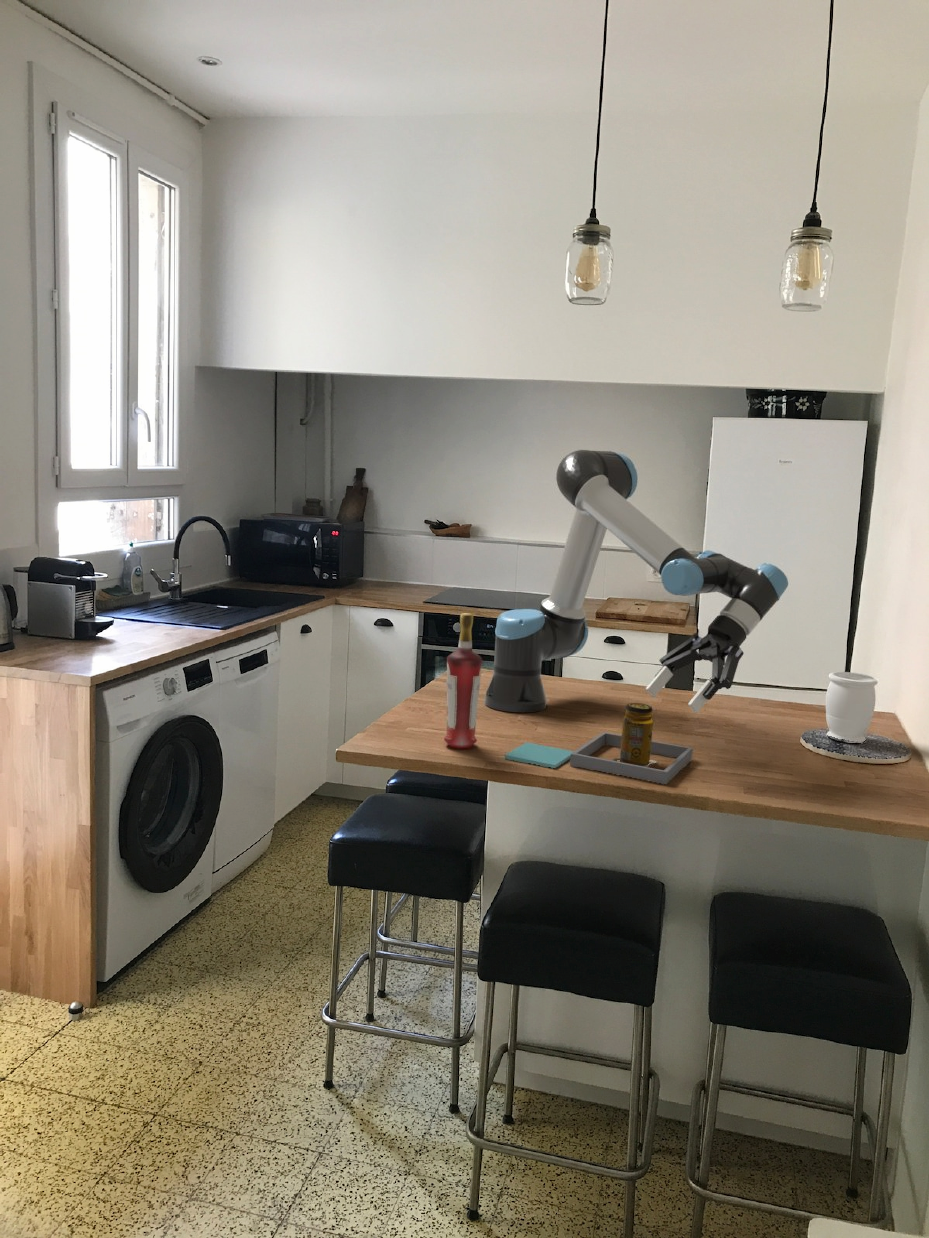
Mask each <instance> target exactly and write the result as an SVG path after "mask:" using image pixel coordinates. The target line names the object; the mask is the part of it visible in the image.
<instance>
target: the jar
mask: <svg viewBox="0 0 929 1238" xmlns="http://www.w3.org/2000/svg"><path fill="white" fill-rule="evenodd" d="M828 679H829V680H830V682H829V684H828V685H827V686H828V687H827V690H826V694H825V720H826V724H827V729H829V730H828V731H827V733H826V736H827V735H828V736H832V737H835V738H838V739H845V740H849V741H855V742H857V741H858V742H862V741H865V740H866V741H867V739H866V737H865V734H866V733H867V732H868V729H869V727H870V725H871V722H872V718H873V716H874V711H875V706H876V688H875V686H877V685H878V683H879V679H878V678H877V677H874V676H871V675H869V674H863V673H857V672H850V671H832V672H829V674H828ZM866 741H865V742H866Z"/></svg>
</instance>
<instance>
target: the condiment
mask: <svg viewBox="0 0 929 1238" xmlns="http://www.w3.org/2000/svg"><path fill="white" fill-rule="evenodd" d="M625 709H626V710H625V714H624V717H623V719H622V730H621V735H622V740H621V747H620V753H619V756H618V757H614V758H613V759H611V760H612V761H617V760H620V762H623V763H628V764H633V765H638V766H643V767H650V766H649V765H648V764H649V763H654V764H655V763H657V762H658V761H657V760H654V759H651V754H652V753H651V741H653V740H652V739H653V727H654V720H653V718H652V717H653V707H652V706H651V705H650V704H647V703H643V702H629V703H627V704H626V706H625ZM649 761H650V762H649ZM647 765H648V766H647Z"/></svg>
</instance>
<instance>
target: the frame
mask: <svg viewBox="0 0 929 1238" xmlns="http://www.w3.org/2000/svg"><path fill="white" fill-rule="evenodd" d="M621 740H622V734H619V733H618V734H616V733H612V732H606V731H603V732H601V733H600V734H598V735H597V736H595V737H594V738H593V739H591V740H589V741H588V742H586V743H585V744H583V745H582V746H580V747H579V748H578V749H576V750H574V752H573V753H571V757H570V759H569V767H573V768H578V767H582V768H581V769H583V768H586V769H585V770H588V769H589V770H588V771H593V770H598V771H602V772H601V773H603V772H606V773H605V774H608V773H614V774H619V775H623V776H622V777H624V776H627V777H626V778H629V777H634V778H638V779H637V780H639V779H642V780H641V781H644V780H650V781H654V782H657V783H656V784H659V783H661V784H660V785H664V784H666V785H668V784H669V783H670V781H671V780H672V779H674V777H676V775H678V774H679V771H680V770H683V769H684V768H685V767H686V766H687V765H688V764H689V763H690V762H691V761H692V760H693V752H694V751H693V750H694V748H693V747H689V746H683V745H677V744H673V743H668V742H661V741H657V740H651V753H650V754H655V755H659V756H665V757H671V758H676V759H675V760H673V762H671V764H669V765H668V766H667V767H666V768H664V770H663V769H660V768H659V769H657V768H654V767H653V768H652V767H650V766H648V767H643V766H638V765H633V764H628V763H623V762H617V761H612V760H613V759H606V758H601V757H596V756H591V755H592V754H593V753H595V752H596V751H598V750H599V749H601V748H602V747H603V746H605V745H606V746H610V747H616V748H621ZM687 763H688V764H687ZM683 767H684V768H683ZM682 768H683V769H682ZM598 771H597V772H598ZM680 772H681V771H680ZM614 774H613V775H614ZM619 775H618V776H619ZM634 778H633V779H634ZM669 780H670V781H669ZM654 782H653V783H654Z"/></svg>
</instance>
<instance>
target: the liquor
mask: <svg viewBox="0 0 929 1238" xmlns="http://www.w3.org/2000/svg"><path fill="white" fill-rule="evenodd" d="M459 625H460V633H459V638H458V639H459V640H458V647H457V650H456V651H453V652H452V653H450V654H449V655H448V656H446V735H445V736H444V739H443V740H444V742H445V743H446V744H447V745H448V746H449V747H450V746H451V747H450V748H452V747H453V748H452V749H455V748H457V750H466V749H470V748H471V747H473V746H474V745H475V744H476V743H477V741H478V740H477V738H476V724H477V713H478V703H479V693H480V686H481V676H482V675H481V674H482V666H483V658H482V657H481V656H480V655H479V654H478V653H476V652H474V651H473V640H472V638H473V637H472V628H473V625H474V614H473V613H460V615H459Z"/></svg>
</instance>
